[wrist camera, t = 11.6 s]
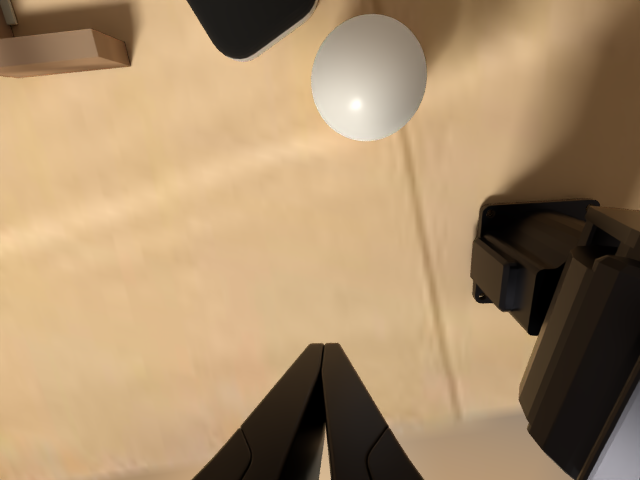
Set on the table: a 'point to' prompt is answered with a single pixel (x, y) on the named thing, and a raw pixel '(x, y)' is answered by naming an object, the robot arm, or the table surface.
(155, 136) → the table surface
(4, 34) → the frame
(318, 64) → the white rounded piece
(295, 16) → the remote control
